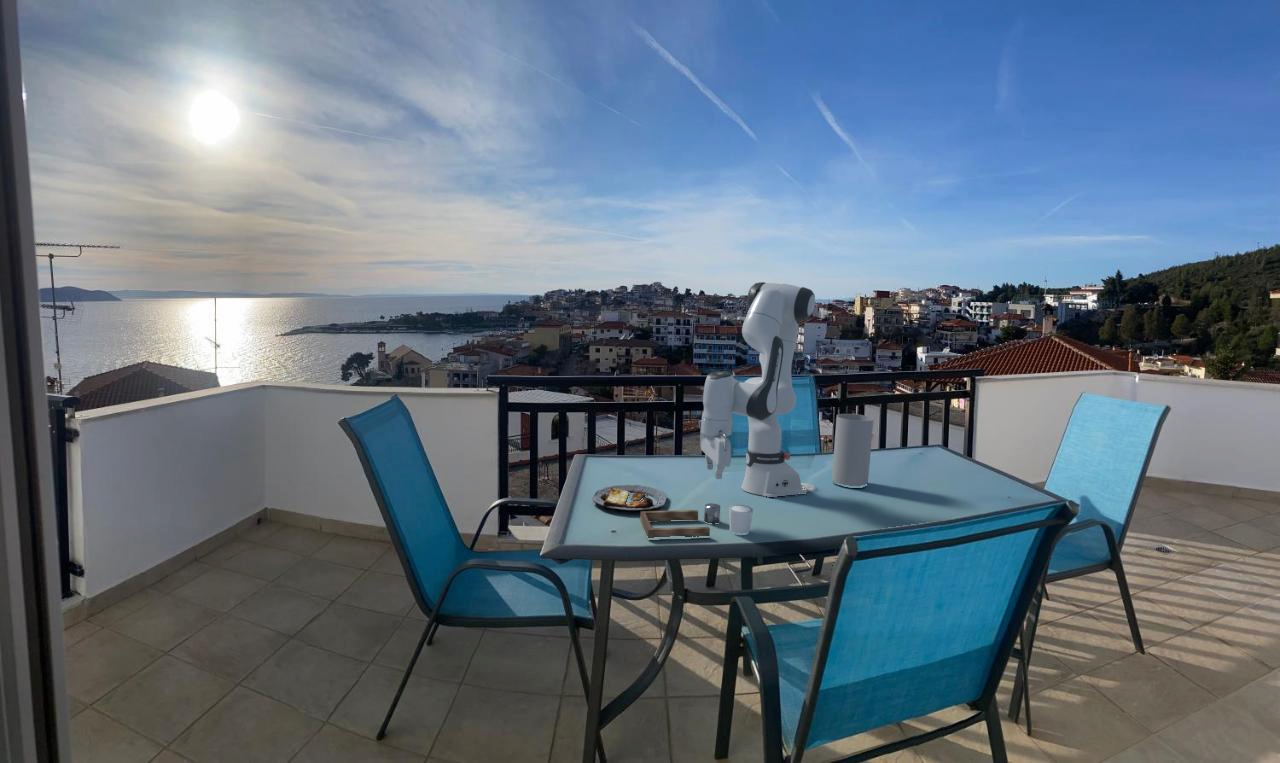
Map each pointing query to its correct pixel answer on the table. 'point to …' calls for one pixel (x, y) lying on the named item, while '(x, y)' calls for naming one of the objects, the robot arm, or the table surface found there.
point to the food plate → (619, 495)
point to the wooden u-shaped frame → (669, 516)
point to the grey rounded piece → (712, 513)
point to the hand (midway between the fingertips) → (713, 473)
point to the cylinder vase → (852, 449)
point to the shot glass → (740, 518)
